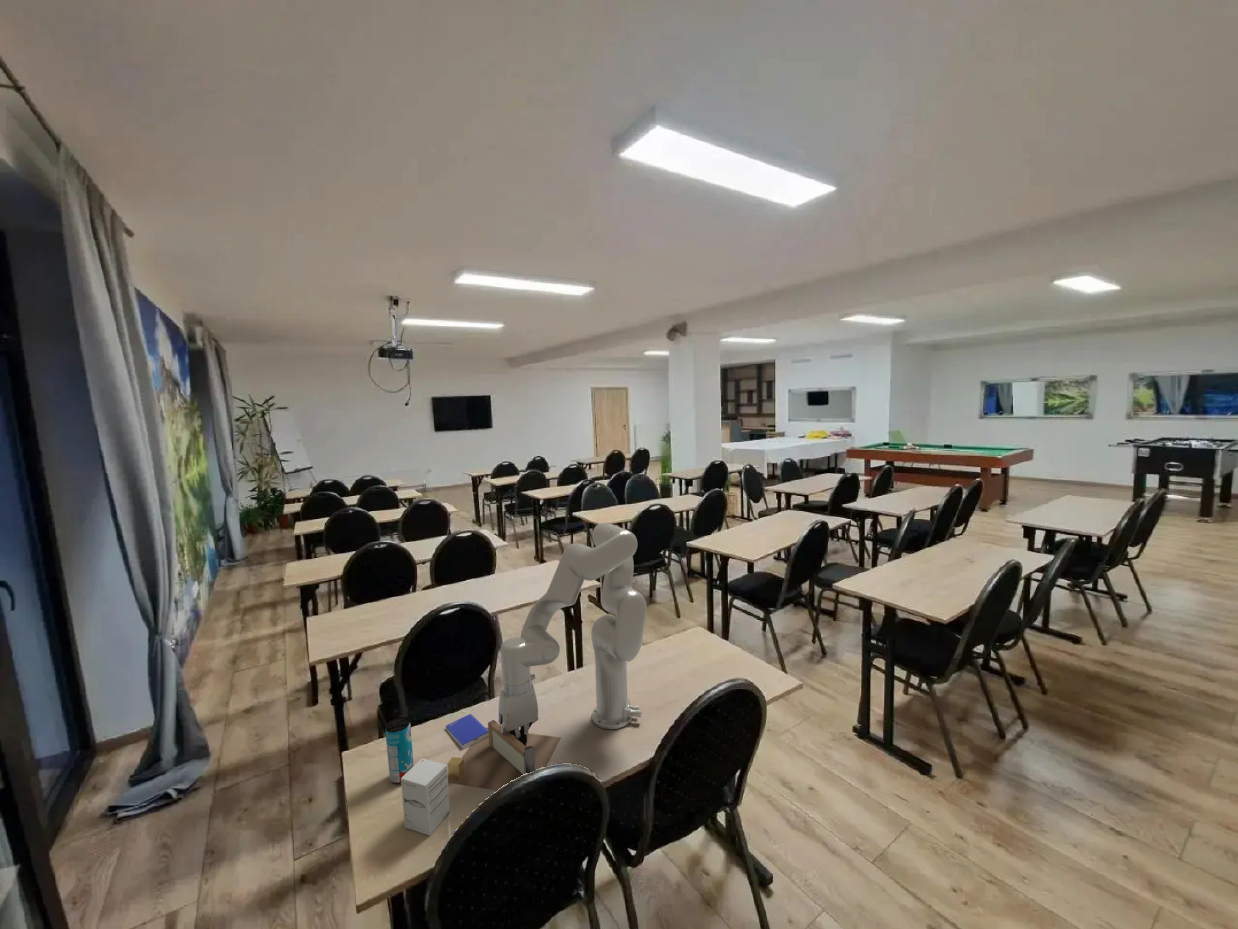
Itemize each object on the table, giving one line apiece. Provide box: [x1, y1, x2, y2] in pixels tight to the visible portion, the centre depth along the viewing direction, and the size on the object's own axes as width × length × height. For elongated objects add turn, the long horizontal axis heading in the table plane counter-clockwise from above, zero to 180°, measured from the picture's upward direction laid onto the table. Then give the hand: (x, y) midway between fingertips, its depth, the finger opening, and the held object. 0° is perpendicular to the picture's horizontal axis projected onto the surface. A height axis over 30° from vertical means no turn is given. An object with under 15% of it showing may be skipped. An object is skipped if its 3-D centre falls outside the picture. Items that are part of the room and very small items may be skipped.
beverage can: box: [384, 716, 415, 785], centre depth 130 cm, size 6×6×15 cm
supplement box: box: [400, 757, 451, 836], centre depth 116 cm, size 7×7×13 cm
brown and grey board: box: [487, 719, 526, 774], centre depth 135 cm, size 18×2×7 cm, turn 44°
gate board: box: [448, 727, 562, 791], centre depth 136 cm, size 24×22×1 cm
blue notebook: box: [445, 713, 489, 750], centre depth 148 cm, size 2×8×12 cm
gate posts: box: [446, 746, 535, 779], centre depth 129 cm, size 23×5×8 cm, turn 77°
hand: (521, 747), depth 139 cm, fingers closed
